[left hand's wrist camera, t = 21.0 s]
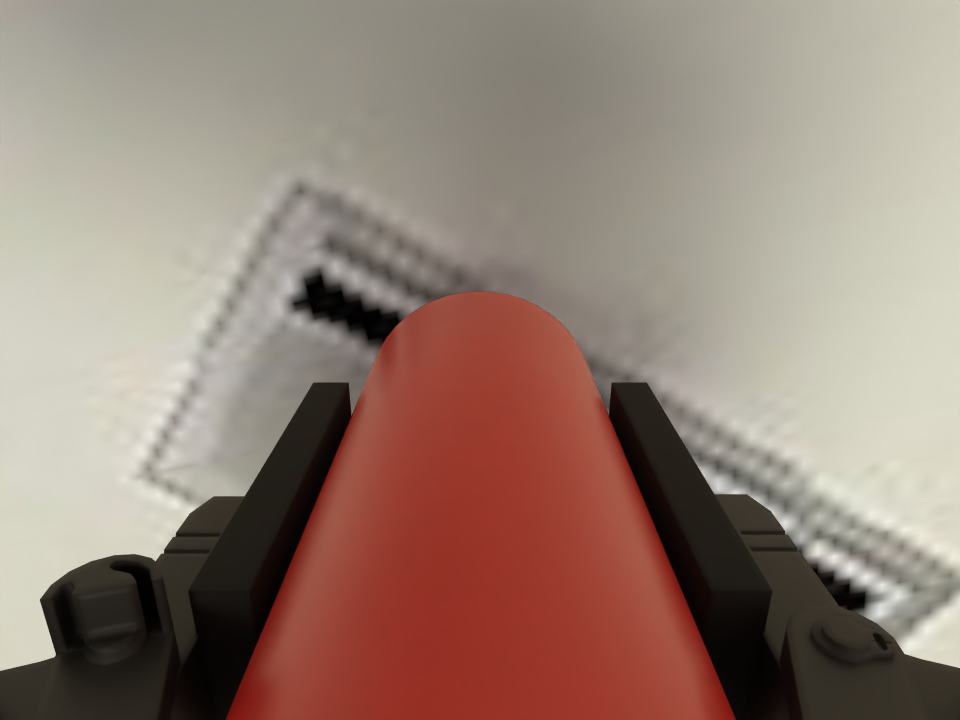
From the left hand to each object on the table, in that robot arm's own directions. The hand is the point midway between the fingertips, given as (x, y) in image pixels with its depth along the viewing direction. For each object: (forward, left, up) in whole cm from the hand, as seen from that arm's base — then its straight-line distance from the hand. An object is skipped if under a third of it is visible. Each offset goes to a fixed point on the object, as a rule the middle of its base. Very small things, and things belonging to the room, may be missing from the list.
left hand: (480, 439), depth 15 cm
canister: (0, 0, -2) cm, 2 cm away
